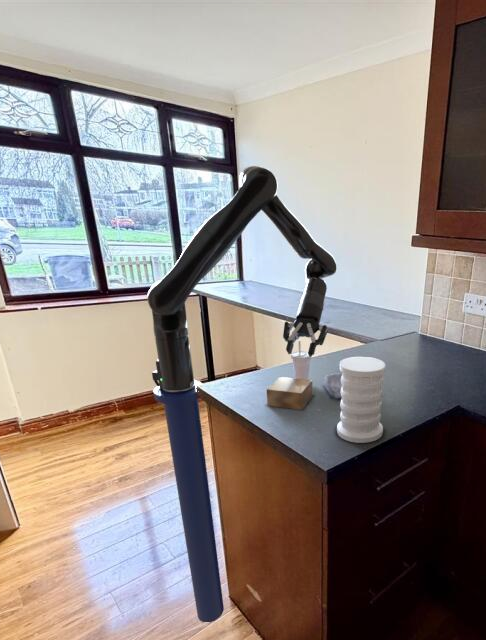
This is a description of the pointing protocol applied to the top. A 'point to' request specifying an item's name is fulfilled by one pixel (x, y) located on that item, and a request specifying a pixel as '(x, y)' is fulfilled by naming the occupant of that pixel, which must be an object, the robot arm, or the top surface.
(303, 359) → the smoothie
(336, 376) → the stone block
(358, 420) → the decorative container
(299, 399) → the oak block
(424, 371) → the top surface
